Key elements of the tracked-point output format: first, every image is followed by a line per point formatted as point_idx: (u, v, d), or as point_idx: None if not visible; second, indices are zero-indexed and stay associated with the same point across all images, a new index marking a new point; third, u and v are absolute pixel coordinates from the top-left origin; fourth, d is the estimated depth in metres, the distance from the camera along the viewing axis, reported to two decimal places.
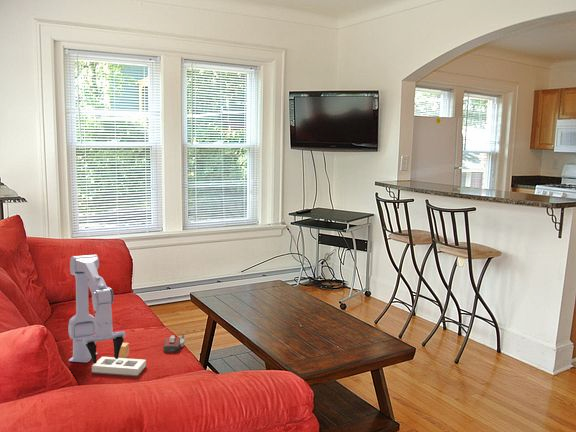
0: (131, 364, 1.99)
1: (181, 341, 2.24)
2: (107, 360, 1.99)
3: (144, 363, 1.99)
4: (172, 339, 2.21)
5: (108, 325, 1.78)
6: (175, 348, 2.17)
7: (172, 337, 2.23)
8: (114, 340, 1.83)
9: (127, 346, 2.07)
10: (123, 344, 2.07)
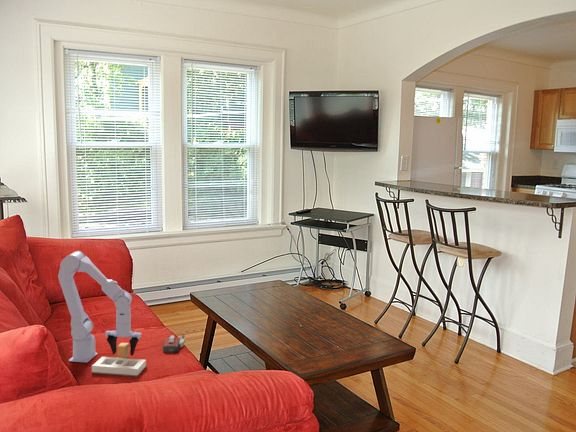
0: (131, 364, 1.99)
1: (181, 341, 2.24)
2: (107, 360, 1.99)
3: (144, 363, 1.99)
4: (172, 339, 2.21)
5: None
6: (174, 348, 2.16)
7: (172, 337, 2.23)
8: (113, 339, 2.06)
9: (127, 346, 2.07)
10: (123, 344, 2.07)
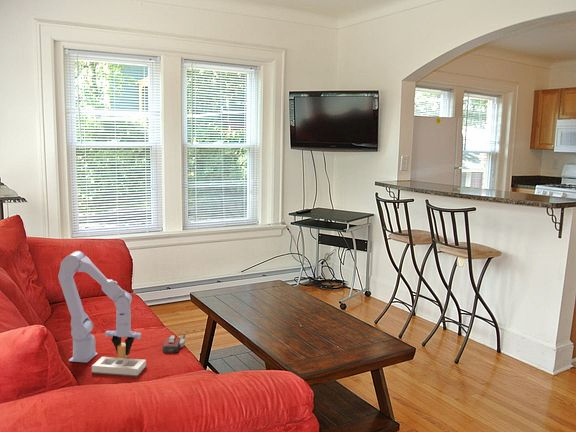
0: (131, 364, 1.99)
1: (181, 341, 2.24)
2: (107, 360, 1.99)
3: (144, 363, 1.99)
4: (172, 339, 2.21)
5: None
6: (174, 348, 2.16)
7: (172, 337, 2.23)
8: (118, 339, 2.06)
9: None
10: (123, 344, 2.07)
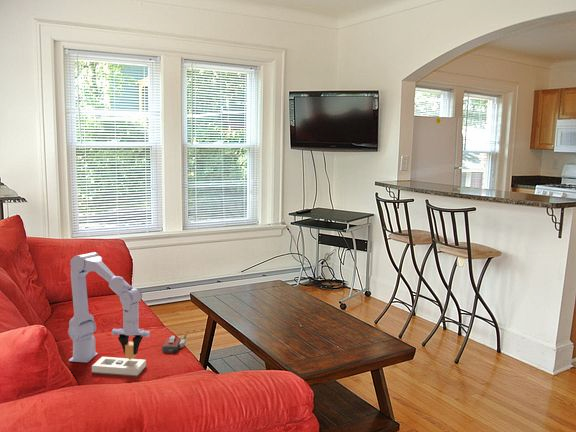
0: (131, 364, 1.99)
1: (181, 342, 2.24)
2: (107, 360, 1.99)
3: (144, 363, 1.99)
4: (172, 339, 2.21)
5: None
6: (173, 348, 2.16)
7: (172, 337, 2.23)
8: (125, 338, 1.94)
9: None
10: (131, 343, 1.95)
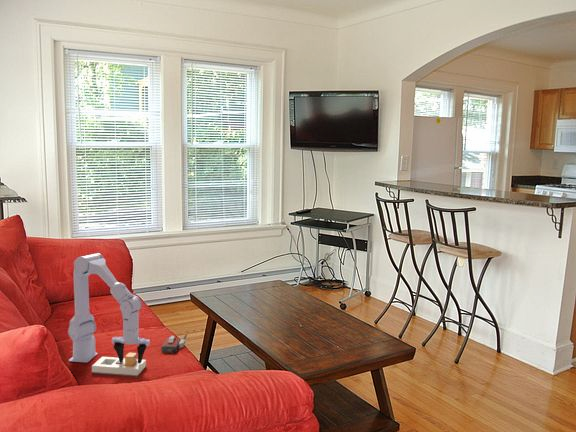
0: None
1: (181, 342, 2.23)
2: (107, 360, 1.99)
3: (144, 363, 1.99)
4: (171, 339, 2.21)
5: None
6: (172, 348, 2.16)
7: (171, 337, 2.22)
8: (121, 346, 1.95)
9: (135, 356, 1.96)
10: (131, 354, 1.96)
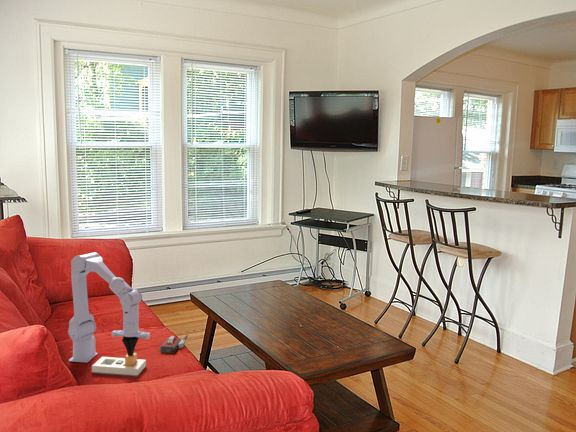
0: None
1: (180, 342, 2.23)
2: (107, 360, 1.99)
3: (144, 363, 1.99)
4: (171, 340, 2.21)
5: None
6: (171, 349, 2.16)
7: (171, 338, 2.22)
8: None
9: (135, 356, 1.96)
10: None
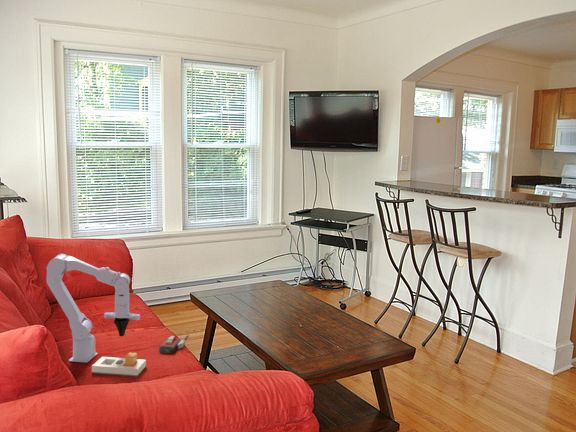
0: None
1: (180, 342, 2.23)
2: (107, 360, 1.99)
3: (144, 363, 1.99)
4: (170, 339, 2.21)
5: None
6: (170, 349, 2.15)
7: (171, 337, 2.22)
8: None
9: (135, 356, 1.96)
10: (131, 354, 1.96)
